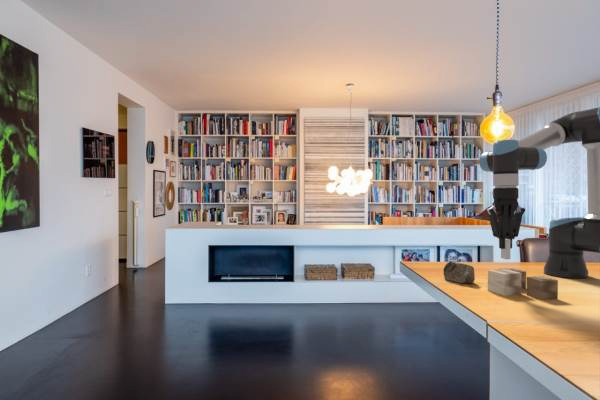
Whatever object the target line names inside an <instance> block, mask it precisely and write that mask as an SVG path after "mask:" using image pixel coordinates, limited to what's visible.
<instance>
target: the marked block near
mask: <svg viewBox="0 0 600 400" xmlns="http://www.w3.org/2000/svg"><path fill="white" fill-rule="evenodd" d="M505 269H506V270H510V271H515V272H519V273H522V280H521V290H525V289H526V290H527V271H526V270H522V269H518V268H514V267H512V268H509V267H508V268H505Z"/></svg>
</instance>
